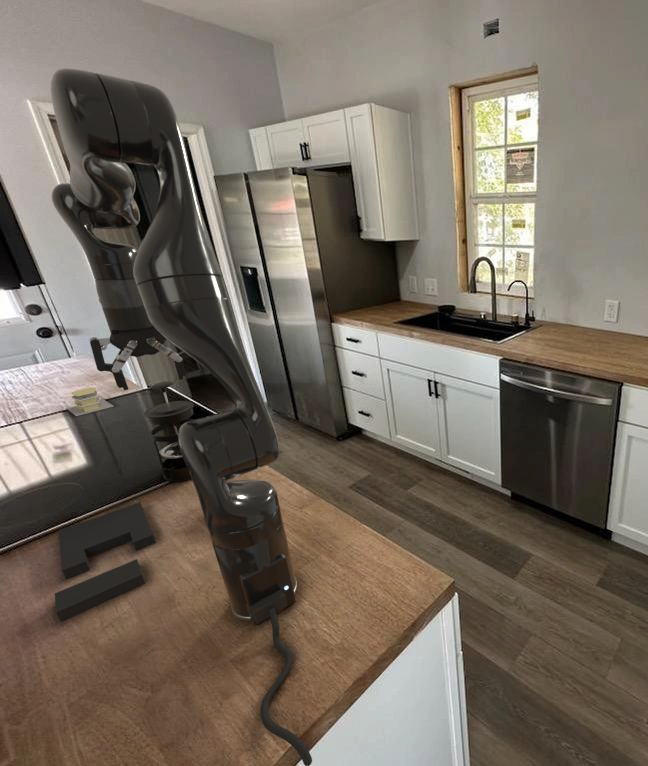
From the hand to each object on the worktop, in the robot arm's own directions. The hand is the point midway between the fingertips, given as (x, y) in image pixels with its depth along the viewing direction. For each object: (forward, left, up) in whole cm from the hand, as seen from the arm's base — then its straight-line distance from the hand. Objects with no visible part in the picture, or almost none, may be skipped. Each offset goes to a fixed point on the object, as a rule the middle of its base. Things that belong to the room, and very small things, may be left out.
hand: (154, 383), depth 82 cm
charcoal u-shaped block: (-7, +14, -27) cm, 31 cm away
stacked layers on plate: (+75, +11, -27) cm, 81 cm away
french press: (+10, -2, -27) cm, 29 cm away
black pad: (-22, +16, -27) cm, 38 cm away
